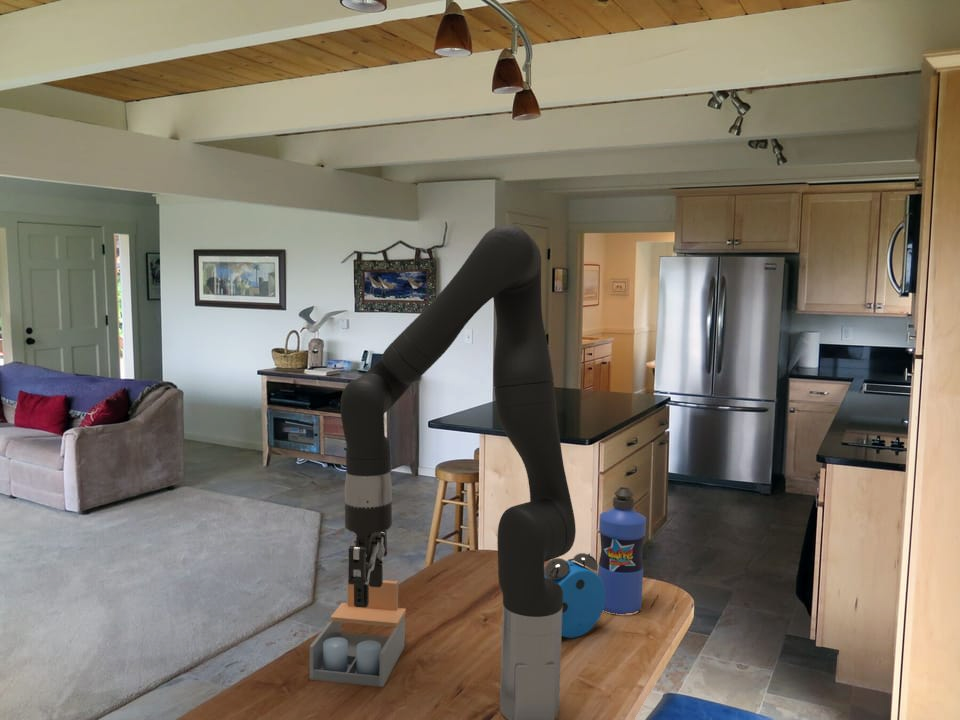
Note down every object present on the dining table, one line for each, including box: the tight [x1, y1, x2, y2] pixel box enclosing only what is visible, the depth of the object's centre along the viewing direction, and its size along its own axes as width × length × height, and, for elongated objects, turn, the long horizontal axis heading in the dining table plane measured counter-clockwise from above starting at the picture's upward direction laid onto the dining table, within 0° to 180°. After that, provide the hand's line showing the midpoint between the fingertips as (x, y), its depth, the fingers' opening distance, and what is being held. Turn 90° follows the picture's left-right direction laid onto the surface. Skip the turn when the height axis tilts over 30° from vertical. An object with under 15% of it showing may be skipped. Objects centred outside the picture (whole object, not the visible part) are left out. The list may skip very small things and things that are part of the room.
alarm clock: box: [544, 552, 605, 639], centre depth 149 cm, size 13×6×15 cm, turn 122°
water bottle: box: [597, 486, 647, 614], centre depth 161 cm, size 9×9×25 cm
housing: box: [309, 616, 406, 688], centre depth 135 cm, size 14×12×7 cm
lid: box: [330, 579, 407, 628], centre depth 139 cm, size 6×12×6 cm, turn 81°
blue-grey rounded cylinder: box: [356, 640, 381, 676], centre depth 130 cm, size 4×4×5 cm
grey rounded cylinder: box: [323, 637, 348, 672], centre depth 131 cm, size 4×4×5 cm
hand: (368, 596), depth 129 cm, fingers open, 8 cm apart
